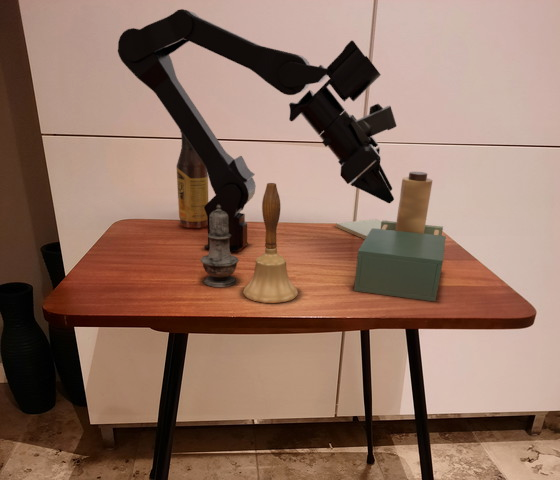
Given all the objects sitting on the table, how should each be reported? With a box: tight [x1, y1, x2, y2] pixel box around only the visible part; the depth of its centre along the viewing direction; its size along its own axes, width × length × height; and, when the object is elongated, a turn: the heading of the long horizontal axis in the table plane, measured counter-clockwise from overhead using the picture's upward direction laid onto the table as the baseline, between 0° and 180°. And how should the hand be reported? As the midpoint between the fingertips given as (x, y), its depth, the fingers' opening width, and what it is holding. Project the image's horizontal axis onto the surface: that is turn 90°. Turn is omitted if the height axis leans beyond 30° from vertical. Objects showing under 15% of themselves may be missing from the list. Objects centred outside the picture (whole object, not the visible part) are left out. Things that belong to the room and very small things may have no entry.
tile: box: [335, 218, 382, 240], centre depth 117 cm, size 11×11×1 cm
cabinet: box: [353, 228, 447, 303], centre depth 88 cm, size 14×12×6 cm
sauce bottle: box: [176, 129, 209, 229], centre depth 111 cm, size 7×6×20 cm
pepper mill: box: [395, 171, 433, 234], centre depth 95 cm, size 5×5×13 cm
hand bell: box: [242, 182, 299, 304], centre depth 79 cm, size 8×8×16 cm
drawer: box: [381, 220, 444, 236], centre depth 98 cm, size 17×11×5 cm, turn 163°
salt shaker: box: [200, 204, 239, 288], centre depth 84 cm, size 6×6×12 cm
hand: (391, 196), depth 94 cm, fingers open, 9 cm apart
